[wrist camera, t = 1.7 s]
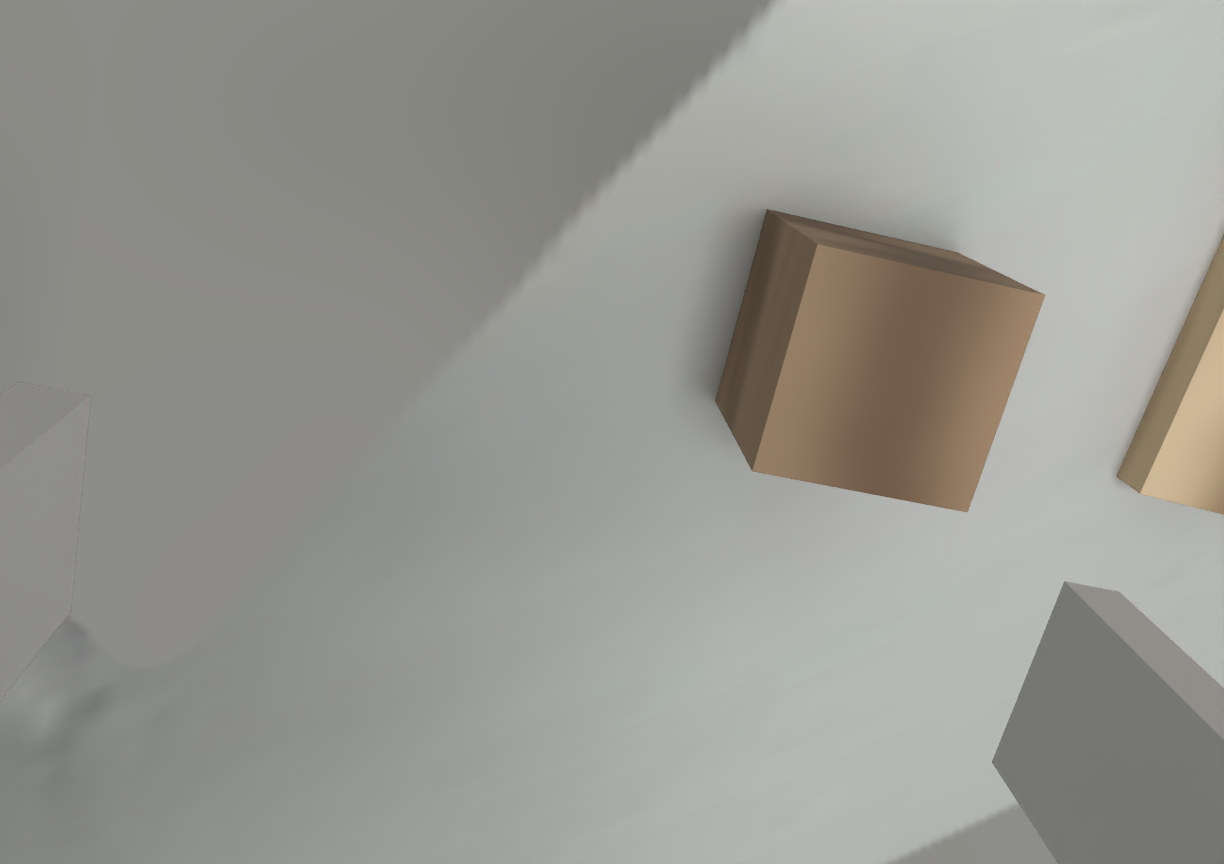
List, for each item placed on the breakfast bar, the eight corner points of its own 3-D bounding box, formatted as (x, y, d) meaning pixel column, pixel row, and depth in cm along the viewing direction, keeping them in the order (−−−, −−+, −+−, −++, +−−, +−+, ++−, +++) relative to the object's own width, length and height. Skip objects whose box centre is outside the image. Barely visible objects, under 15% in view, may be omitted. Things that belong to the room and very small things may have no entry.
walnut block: (714, 400, 34) (752, 471, 29) (766, 209, 32) (817, 244, 27) (896, 436, 35) (967, 512, 29) (956, 252, 33) (1045, 295, 28)
